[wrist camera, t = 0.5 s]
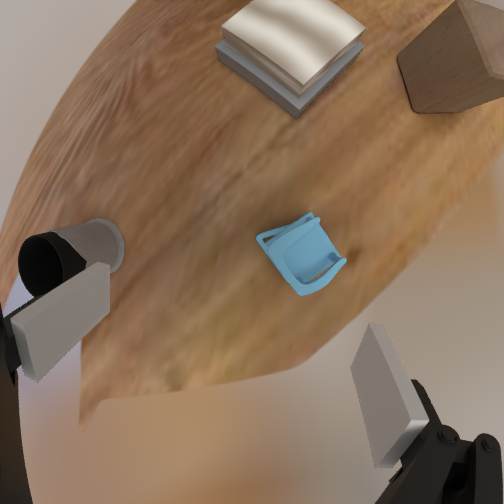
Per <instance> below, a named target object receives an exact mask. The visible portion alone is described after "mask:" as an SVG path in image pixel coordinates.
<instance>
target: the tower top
mask: <svg viewBox="0 0 504 504" xmlns="http://www.w3.org/2000/svg"><path fill="white" fill-rule="evenodd" d="M221 27H222V31H223V34H224V38H225V42H226V45H228V46H229V47H231V48H232V49H234V50H235V51H236V52H238V53H239V54H241V55H242V56H244V57H245V58H246V59H248V60H249V61H251V62H252V63H253V64H255V65H256V66H257V67H259V68H260V69H261V70H263V71H264V72H265V73H267V74H268V75H269V76H271V77H272V78H273V79H275V80H276V81H277V82H278V83H280V84H281V85H282V86H284V87H285V88H286V89H287V90H289V91H290V92H291V93H292V94H293V95H295V96H296V97H297V98H298V99H299V98H300V97H301V96H302V95H303V94H304V93H305V92H306V91H307V90H308V89H309V88H310V87H311V86H312V85H313V84H314V83H315V82H316V81H317V80H318V79H319V78H320V77H321V76H322V75H323V74H324V73H325V72H326V71H327V70H328V69H330V68H331V67H332V66H333V65H334V64H335V63H336V62H337V61H338V60H339V59H340V58H341V57H342V56H344V55H345V54H346V53H347V52H348V51H349V50H350V49H351V48H352V47H353V46H355V45H356V43H357V41H358V40H359V38H360V37H361V35H362V34H363V32H364V31H365V29H366V27H364V26H363V25H362V24H361V23H359V22H358V21H357V20H355V19H354V18H353V17H351V16H350V15H349V14H347V13H346V12H345V11H343V10H342V9H341V8H339V7H338V6H336V5H335V4H333V3H332V2H331V1H329V0H253V1H252V2H250V3H249V4H248V5H246V6H245V7H244V8H243V9H241V10H240V11H239V12H238V13H236V14H235V15H234V16H233V17H232V18H230V19H229V20H228V21H227V22H226V23H224V24H223V25H222V26H221Z"/></svg>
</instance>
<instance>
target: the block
mask: <svg viewBox="0 0 504 504" xmlns="http://www.w3.org/2000/svg"><path fill="white" fill-rule="evenodd" d="M398 63H399V66H400V69H401V72H402V75H403V78H404V81H405V84H406V87H407V91H408V94H409V98H410V101H411V105H412V108H413V110H414V111H415V112H419V113H440V112H453V113H459V112H462V111H464V110H467V109H470V108H473V107H475V106H478V105H481V104H484V103H487V102H489V101H492V100H495V99H498V98H501V97H504V11H503V10H500V9H498V8H495V7H492V6H489V5H486V4H483V3H480V2H477V1H474V0H455V1H454V2H453V3H452V4H451V5H450V6H449V7H448V8H447V9H445V10H444V11H443V12H442V13H441V14H440V15H439V16H438V17H437V18H436V19H435V20H434V21H433V22H432V23H431V24H430V25H428V26H427V27H426V28H425V29H424V30H423V31H422V32H421V33H420V34H419V35H418V36H417V37H416V38H415V39H414V40H413V41H412V42H411V43H410V44H409V45H408V46H407V47H406V48H405V49H404V50H402V51H401V52H400V53H399V54H398Z"/></svg>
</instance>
